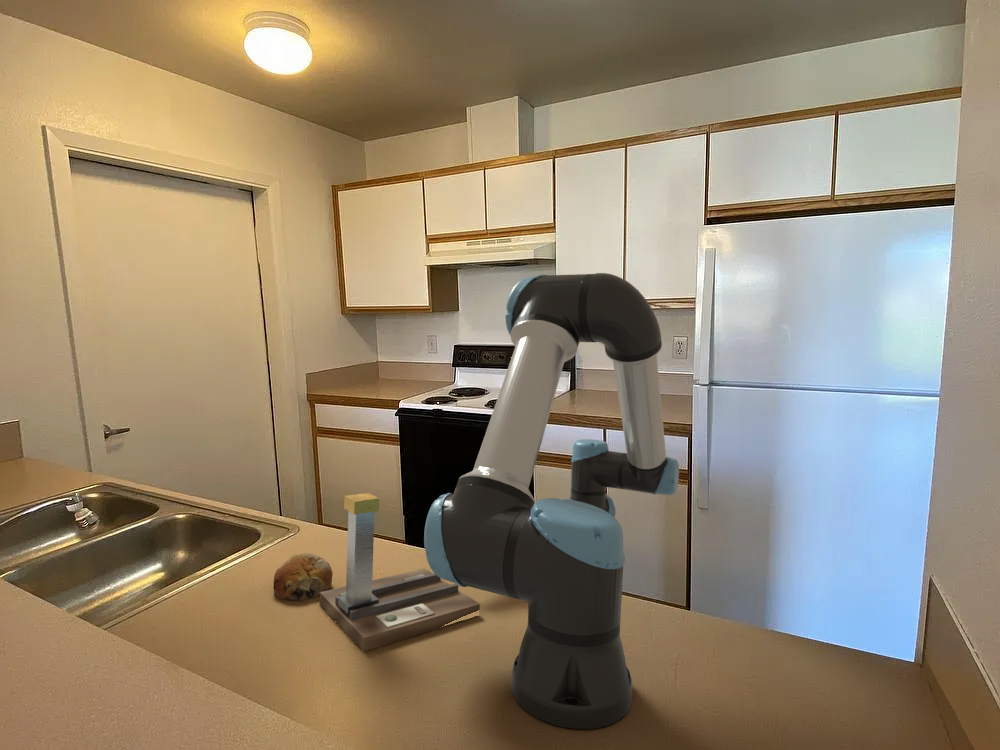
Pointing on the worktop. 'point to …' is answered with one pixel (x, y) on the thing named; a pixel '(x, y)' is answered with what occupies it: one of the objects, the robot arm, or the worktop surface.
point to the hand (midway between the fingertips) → (458, 539)
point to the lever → (359, 552)
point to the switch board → (400, 608)
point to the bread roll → (302, 577)
